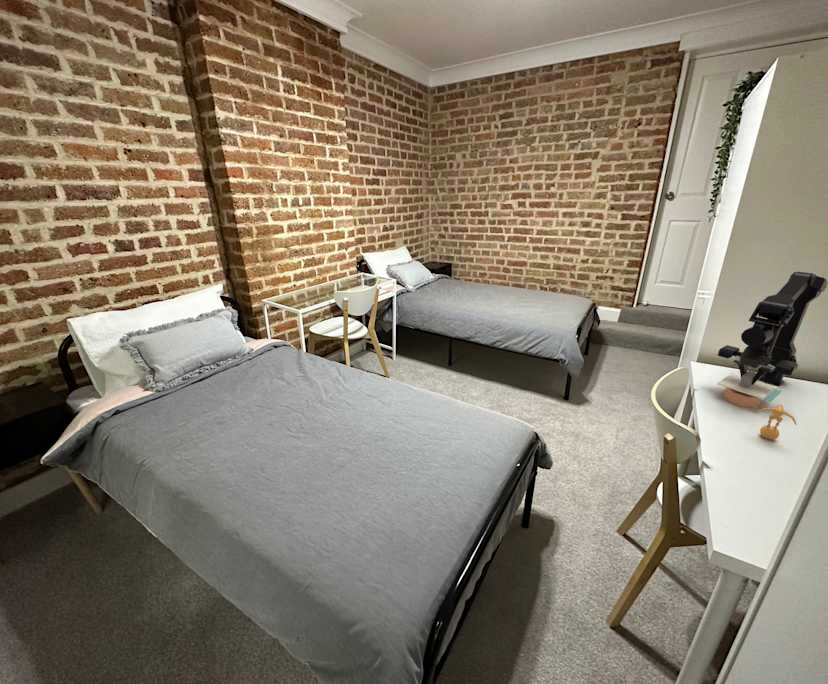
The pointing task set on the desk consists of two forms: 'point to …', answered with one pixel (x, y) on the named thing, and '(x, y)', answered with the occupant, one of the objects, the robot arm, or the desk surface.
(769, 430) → the figurine
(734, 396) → the bowl
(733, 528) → the desk surface
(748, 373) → the lid
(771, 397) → the mat
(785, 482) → the desk surface
